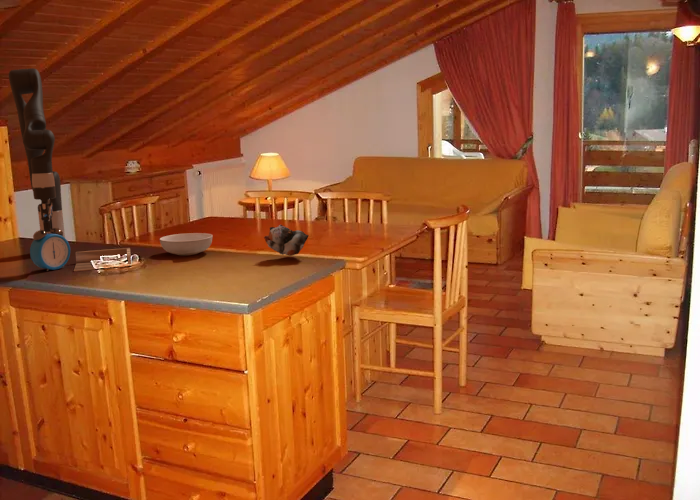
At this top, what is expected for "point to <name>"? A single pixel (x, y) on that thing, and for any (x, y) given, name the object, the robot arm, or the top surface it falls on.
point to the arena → (97, 257)
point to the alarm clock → (50, 249)
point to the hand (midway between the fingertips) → (48, 230)
